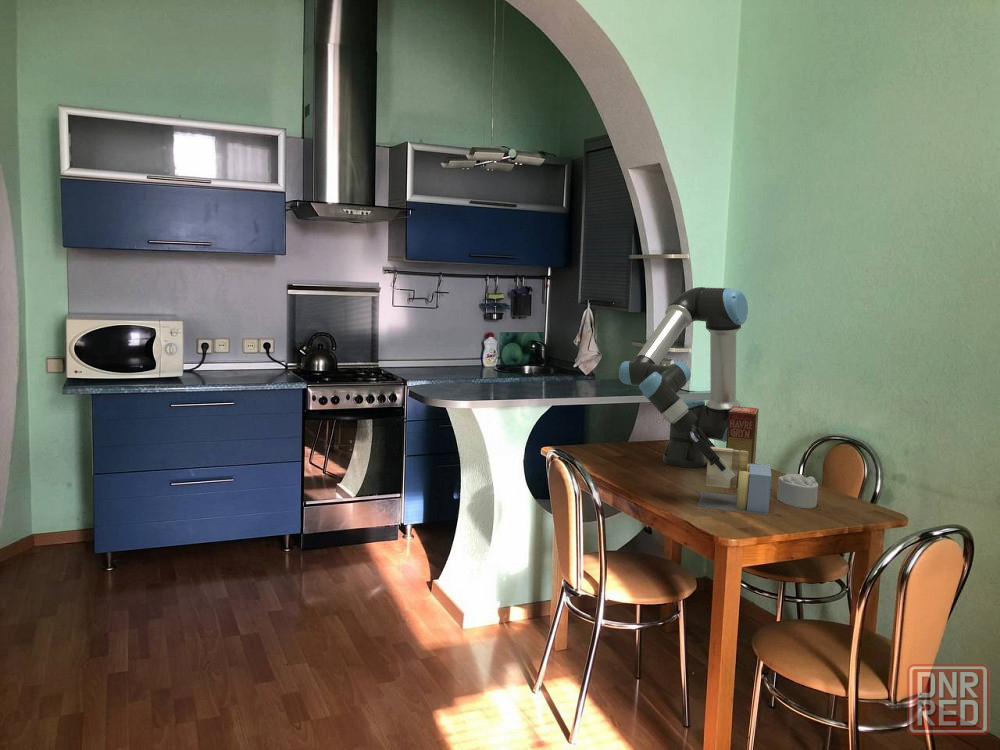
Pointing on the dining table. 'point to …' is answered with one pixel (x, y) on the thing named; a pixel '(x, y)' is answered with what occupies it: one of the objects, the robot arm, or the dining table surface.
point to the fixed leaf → (754, 488)
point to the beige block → (733, 460)
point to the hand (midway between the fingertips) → (731, 475)
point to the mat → (721, 502)
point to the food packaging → (743, 430)
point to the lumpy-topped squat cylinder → (797, 490)
